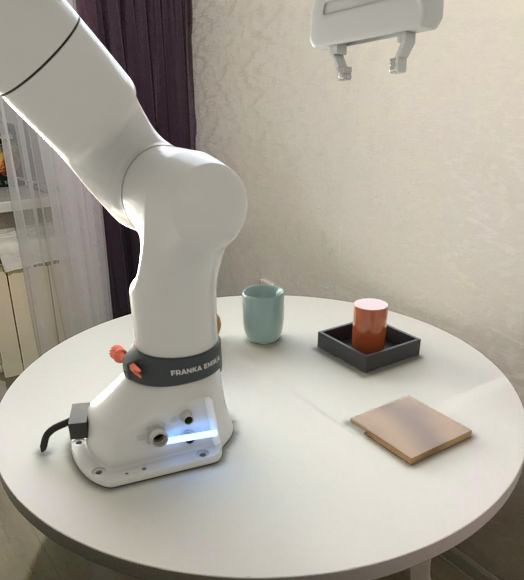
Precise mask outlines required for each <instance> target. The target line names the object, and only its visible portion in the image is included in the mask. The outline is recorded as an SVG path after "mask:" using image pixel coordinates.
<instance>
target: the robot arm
mask: <svg viewBox="0 0 524 580" xmlns="http://www.w3.org/2000/svg"><path fill="white" fill-rule="evenodd" d="M312 1H313V2H312V8H311V16H310V26H309V42H310V44H311V46H312V47H313V49H316V50H321V51H322V50H323V51H329V56H330V58H331V61H332V63H333V65H334V67H335V79H336V81H337V82H347V81H351V80H352V78H353V76H352V72H353V68H352V66H348V64H347V61H346V59H345V56H347V53H348V52H347V50H348V47H351V46H357V45H362V44H368V43H373V42H379V41H382V40H389V39H392V38H393V39H394V38H396V42H397V43H398V44H399V46H398V48H397V51H396V53H395V55H394V57H391V58H389V73H390V74H394V75H399V74H404V73H406V72H407V66H408V65H407V64H408V63H407V62H408V58H409V56H410V55H411V53H412V51H413V48H414V47H415V45H416V37H417V34H420V33H425V32H430V31H431V32H432V31H435V30H437V28H438V27H439V25H440V24H441V22H442V21H443V18H444V9H445V8H444V7H445V0H312ZM0 98H1V99H2V100H4V102H5V103H6V104H7V105H8V106H10V107H11V108H12V109H13V110H14V111H15V112H16V113H17V114H18V116H20V117H21V118H22V120H24V121H25V122H26V123H27V124H28V125H29V126H30V127H31V128H32V129H33V130H34V131H35V132H36V133H37V134H38V135H39V136H40V137H41V138H42V139H43V140H44V142H46V143H47V144H48V145H49V146H50V147H51V148H52V149H53V150H54V151H55V152H56V153H57V154H58V155H59V156H60V158H62V159H63V161H64V162H65V163H66V164H67V165H68V167H69V168H70V169H71V170H72V171H73V173H74V174H75V175H76V177H77V178H78V179H79V180H80V182H81V183H82V184H83V185H84V187H85V188H87V190H88V191H89V192H90V193H91V194H92V195H93V196H94V198H95V199H96V200H97V201H98V202H99V203H100V204H101V205H102V206H103V207H104V209H105V210H107V212H108V213H109V214H110V215H111V216H112V217H113V218H114V219H115V220H116V221H117V222H118V223H119V224H121V225H123V226H125V227H126V228H129V229H131V230H134V231H136V232H137V233H138V236H139V243H140V251H139V252H140V253H139V260H138V262H139V263H138V267H137V273H136V276H135V278H134V279H133V280H132V282H131V283H130V285H129V290H128V294H129V295H128V296H129V303H130V312H131V314H130V315H131V322H132V330H133V331H132V332H133V341H132V344H131V346H130V348H129V349H128V350H126V349H125V348H124V347H123V346H122V345H120V344H115V345H112V346H111V347H110V349H109V353H108V355H109V357H110V358H111V359H113V361H114V362H115V363H117V364H122V372H121V373H120V374H119V375H118V376H117V377H116V378H115V379H114V380H113V381H111V383H110V384H108V385H107V387H106V388H105V389H103V390H102V391H101V392H100V393H99V394H98V395H97V396H96V397H94V399H93V400H91V402H89V401H88V402H77V403H72V404H71V409H70V413H69V417H67V418H66V419H63V420H60V421H58V422H56V423H54V424H52V425H50V426H48V427H47V429H46V430H45V431H44V433H43V434H42V436H41V440H40V444H39V449H40V453H44V452H46V450H47V448H48V445H49V441H50V438H51V436H52V435H54V434H55V433H56V432H58V431H59V430H63V429H65V428H68V434H69V437H70V438H69V439H70V440H71V454H72V458H73V460H74V462H75V464H76V466H77V467H78V469H79V470H80V471H81V473H82V474H83V475H84V476H85V477H86V478H87V479H89V480H90V481H91V482H92V483H94V484H97V485H99V486H102V487H105V488H115V487H120V486H124V485H128V484H132V483H137V482H140V481H145V480H149V479H152V478H157V477H161V476H165V475H171V474H173V473H174V474H175V473H178V472H181V471H186V470H190V469H195V468H198V467H202V466H207V465H210V464H214V463H215V464H216V462H219V461H220V460H221V458H222V455H223V448H224V446H225V445H226V443H227V442H228V441H229V440H230V439H231V437H232V435H233V433H234V432H233V431H234V423H233V420H232V418H231V416H230V413H229V410H228V406H227V403H226V398H225V393H224V388H223V387H224V386H223V381H222V373H221V372H222V371H223V351H222V350H223V349H222V348H223V347H222V339H221V336H220V334H219V335H218V331H217V314H218V300H217V299H218V298H217V297H218V295H217V292H218V291H217V290H218V280H219V273H220V268H221V264H222V260H223V257H224V254H225V251H226V249H227V247H228V246H229V245H230V244H231V243H232V242H233V241H234V240H235V239H236V238H237V236H238V235H239V234H240V232H241V231H242V229H243V226H244V225H245V221H246V219H247V213H248V205H249V203H248V194H247V190H246V187H245V184H244V182H243V181H242V179H241V177H240V176H239V175H238V174H237V172H236V171H234V170H233V169H232V167H229V166H228V165H227V164H225V163H223V162H222V161H221V160H219V159H218V158H216V157H214V156H212V155H211V154H209V153H207V152H204V151H202V150H201V151H200V150H196V149H195V150H194V149H190V148H185V147H179V146H175V145H173V144H171V143H170V142H169V141H167V140H165V139H164V138H163V137H162V136H161V135H160V134H159V133H158V132H157V130H156V129H155V128H154V126H153V124H152V123H151V122H150V119H149V118H148V116H147V115H146V113H145V111H144V109H143V107H142V105H141V104H140V102H139V99H138V97H137V89H136V85H135V84H134V82H133V80H132V79H131V77H130V76H129V75H128V73H127V72H126V71H125V70H124V69H123V67H122V66H121V65H120V63H118V61H117V60H116V59H115V57H114V56H113V55H112V54H111V53H110V51H109V50H108V48H107V47H106V46H105V45H104V44H103V43H102V42H101V40H100V39H99V38H98V37H97V35H96V34H95V33H94V32H93V30H92V29H91V28H90V27H89V26H88V24H87V23H85V21H84V20H83V19H82V17H81V16H80V15H79V14H78V12H77V11H76V10H75V9H74V8H73V6H72V5H71V4H70V3H69V2H68V0H0Z"/></svg>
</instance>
